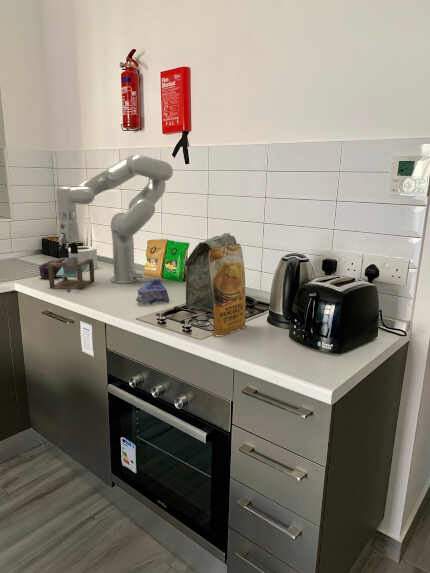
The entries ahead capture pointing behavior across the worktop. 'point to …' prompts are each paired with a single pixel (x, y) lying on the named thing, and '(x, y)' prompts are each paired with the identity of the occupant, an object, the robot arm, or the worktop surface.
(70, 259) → the gray cube
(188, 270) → the bag
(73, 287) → the frame
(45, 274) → the rock
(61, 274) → the trapdoor
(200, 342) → the worktop surface
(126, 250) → the robot arm
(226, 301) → the pancake mix bag
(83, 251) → the toilet paper roll
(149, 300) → the mineral
